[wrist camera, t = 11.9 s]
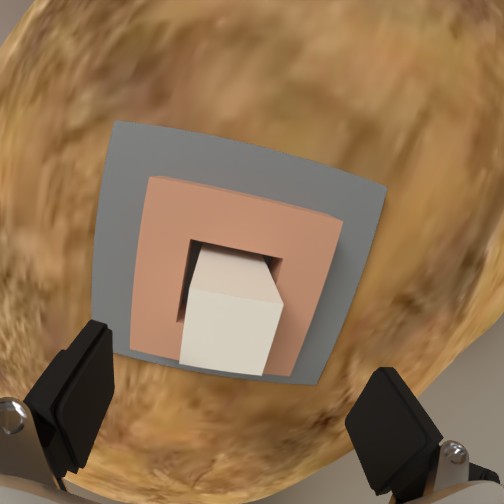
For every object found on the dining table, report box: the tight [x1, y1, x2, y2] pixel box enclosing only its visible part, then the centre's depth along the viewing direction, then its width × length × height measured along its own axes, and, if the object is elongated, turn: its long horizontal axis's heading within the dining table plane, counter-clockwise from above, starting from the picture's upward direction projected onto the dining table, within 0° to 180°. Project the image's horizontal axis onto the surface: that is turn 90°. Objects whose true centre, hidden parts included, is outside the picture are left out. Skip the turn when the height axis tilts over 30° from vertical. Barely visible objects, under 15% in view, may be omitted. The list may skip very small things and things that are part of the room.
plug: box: [179, 242, 284, 376], centre depth 16 cm, size 4×4×8 cm
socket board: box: [92, 121, 387, 385], centre depth 19 cm, size 20×18×4 cm
